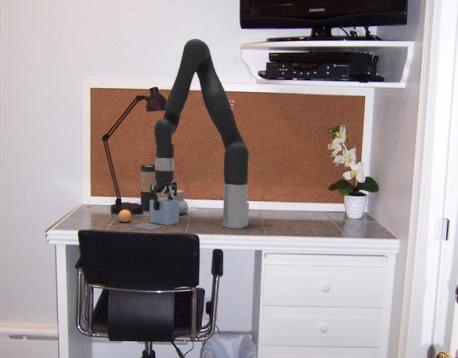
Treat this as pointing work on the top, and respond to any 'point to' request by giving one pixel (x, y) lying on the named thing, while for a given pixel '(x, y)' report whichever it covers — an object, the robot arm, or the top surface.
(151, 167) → the travel mug
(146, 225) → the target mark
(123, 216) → the ball
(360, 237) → the top surface
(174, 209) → the blue-grey block
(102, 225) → the top surface
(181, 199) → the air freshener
